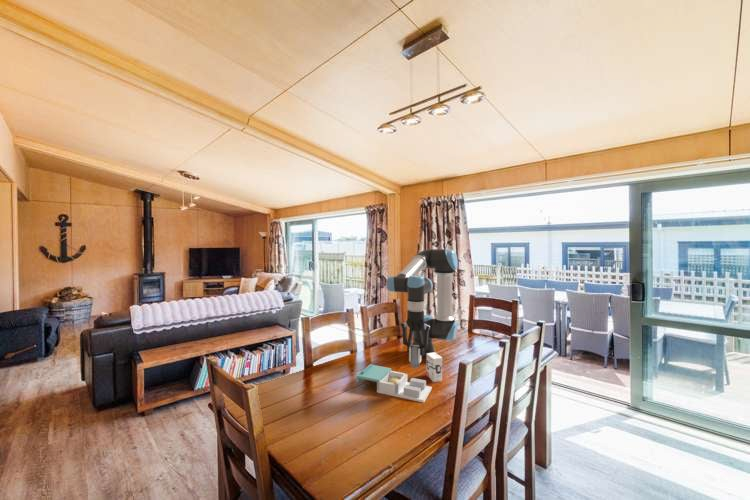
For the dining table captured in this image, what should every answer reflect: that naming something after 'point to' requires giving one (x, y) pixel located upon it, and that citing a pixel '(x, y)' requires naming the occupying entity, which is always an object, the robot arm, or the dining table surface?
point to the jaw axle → (414, 356)
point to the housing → (403, 387)
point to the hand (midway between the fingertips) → (415, 361)
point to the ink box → (434, 367)
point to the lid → (373, 373)
